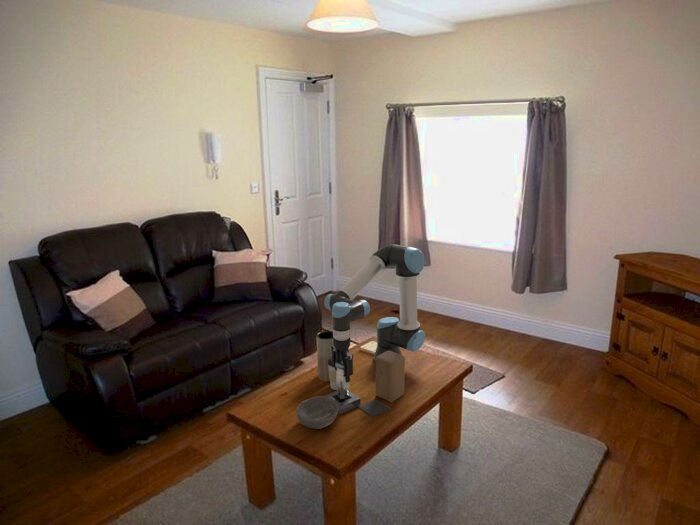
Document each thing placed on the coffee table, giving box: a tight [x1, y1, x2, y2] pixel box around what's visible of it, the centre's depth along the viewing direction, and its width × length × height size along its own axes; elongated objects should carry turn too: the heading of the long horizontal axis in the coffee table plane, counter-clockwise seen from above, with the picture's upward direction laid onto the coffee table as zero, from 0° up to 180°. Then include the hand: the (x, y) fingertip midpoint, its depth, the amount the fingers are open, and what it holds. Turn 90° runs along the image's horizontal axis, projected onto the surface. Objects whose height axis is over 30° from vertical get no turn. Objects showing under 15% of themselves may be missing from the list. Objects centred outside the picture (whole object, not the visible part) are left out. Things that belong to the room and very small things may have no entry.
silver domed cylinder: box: [335, 361, 349, 400], centre depth 221 cm, size 6×6×16 cm
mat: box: [358, 399, 391, 418], centre depth 219 cm, size 10×10×1 cm
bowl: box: [295, 395, 339, 430], centre depth 208 cm, size 18×18×8 cm
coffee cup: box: [328, 357, 344, 391], centre depth 237 cm, size 9×9×15 cm
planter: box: [316, 330, 334, 382], centre depth 245 cm, size 10×10×23 cm
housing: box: [323, 389, 362, 415], centre depth 223 cm, size 12×12×4 cm
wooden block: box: [375, 351, 406, 403], centre depth 227 cm, size 10×10×20 cm
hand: (342, 385), depth 221 cm, fingers closed on silver domed cylinder, 5 cm apart
